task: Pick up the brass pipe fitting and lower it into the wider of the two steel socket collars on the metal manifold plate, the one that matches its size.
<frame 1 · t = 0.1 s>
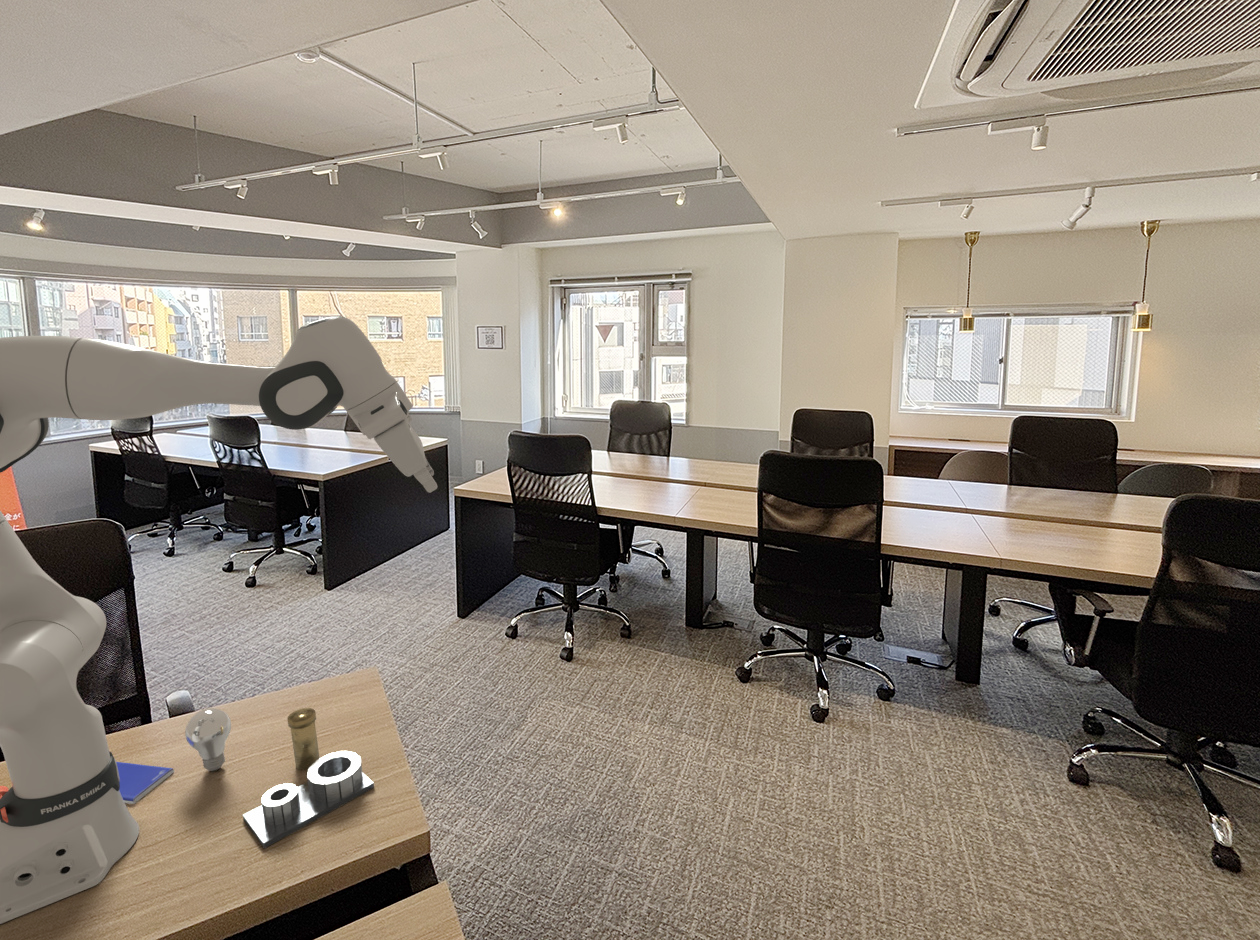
hand: (431, 482, 106), 54 cm above the table, tool tilted 30°, fingers open, 8 cm apart
brass fitting: (307, 763, 120), on the table
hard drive: (125, 787, 115), on the table
manifold plate: (311, 803, 110), on the table
light bulb: (215, 770, 118), on the table
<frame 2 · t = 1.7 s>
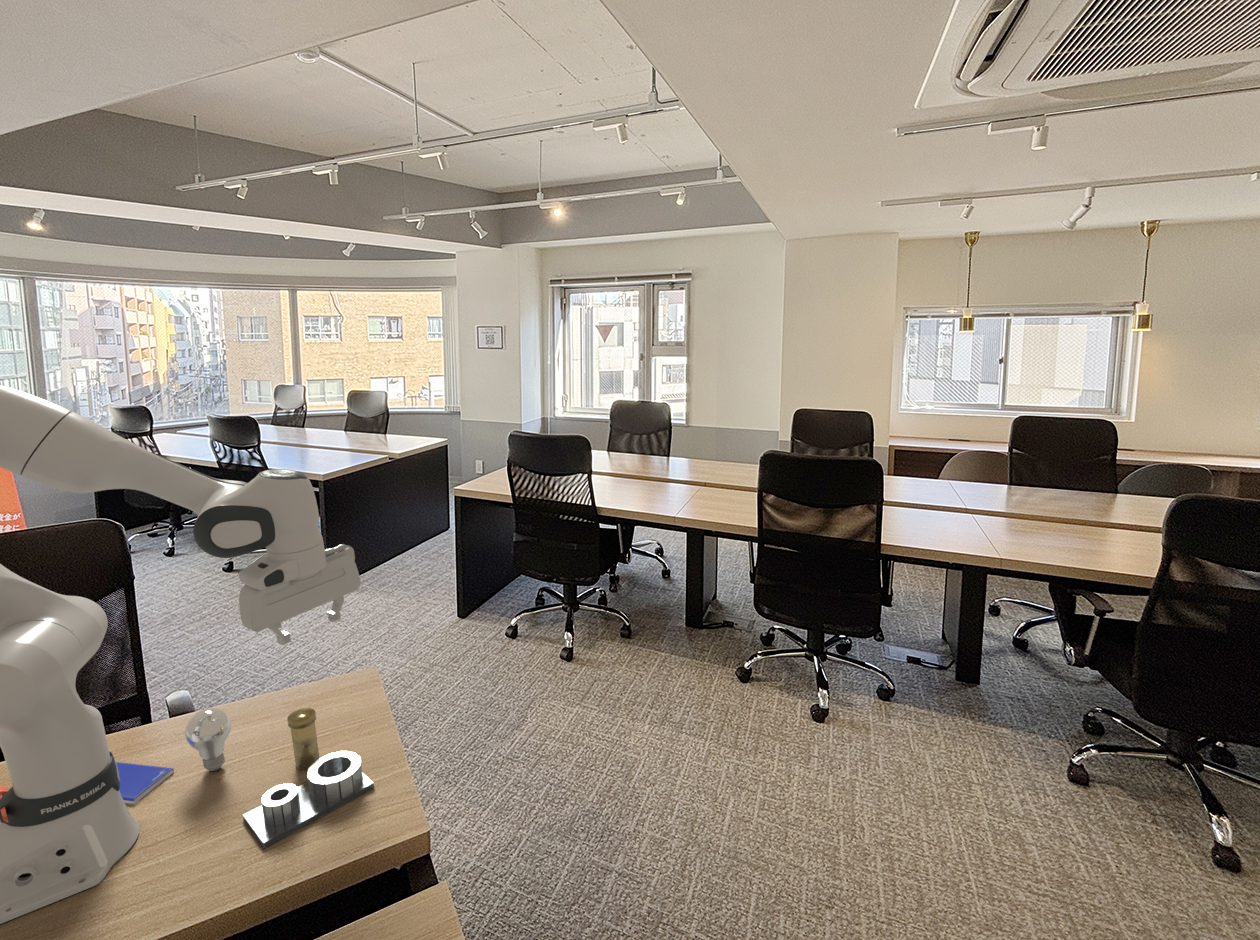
hand: (310, 631, 116), 26 cm above the table, tool pointing down, fingers open, 8 cm apart
nothing on the table moved.
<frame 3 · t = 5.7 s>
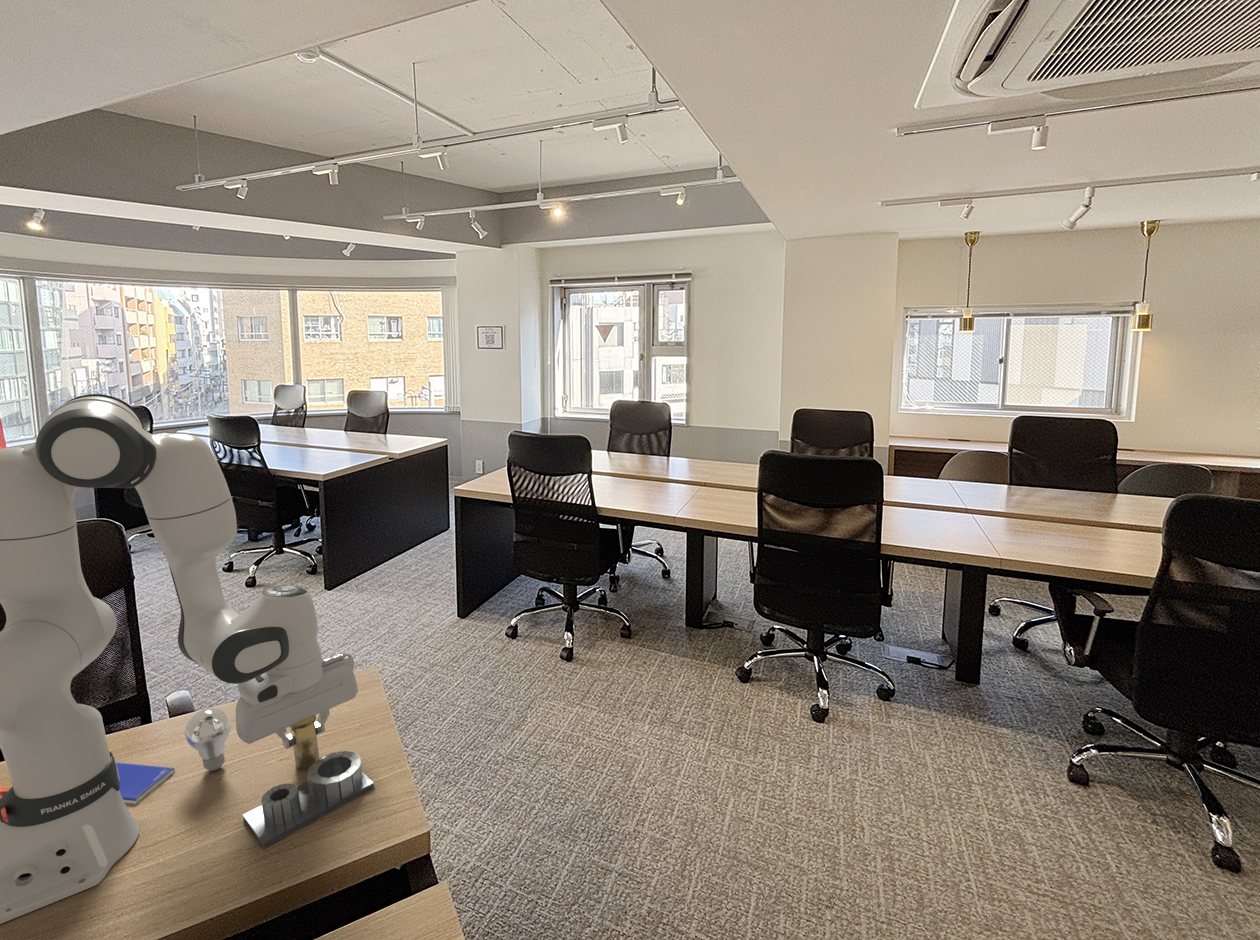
hand: (304, 738, 119), 5 cm above the table, tool pointing down, fingers closed on brass fitting, 4 cm apart
brass fitting: (307, 762, 120), on the table, touching gripper
everything else where it was.
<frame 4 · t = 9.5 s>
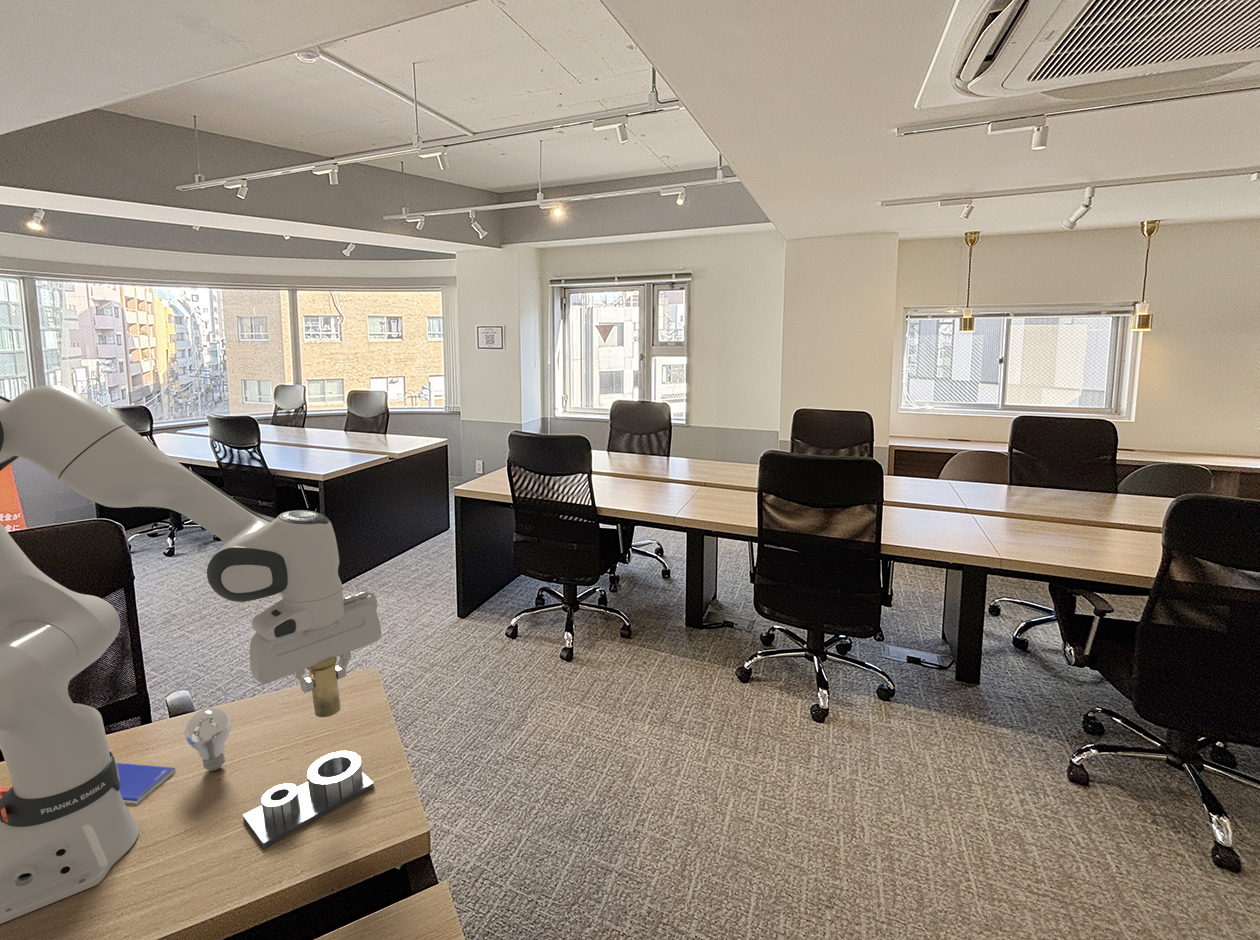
hand: (324, 683, 108), 21 cm above the table, tool pointing down, fingers closed on brass fitting, 4 cm apart
brass fitting: (327, 710, 110), point 16 cm above the table, touching gripper
everything else where it was.
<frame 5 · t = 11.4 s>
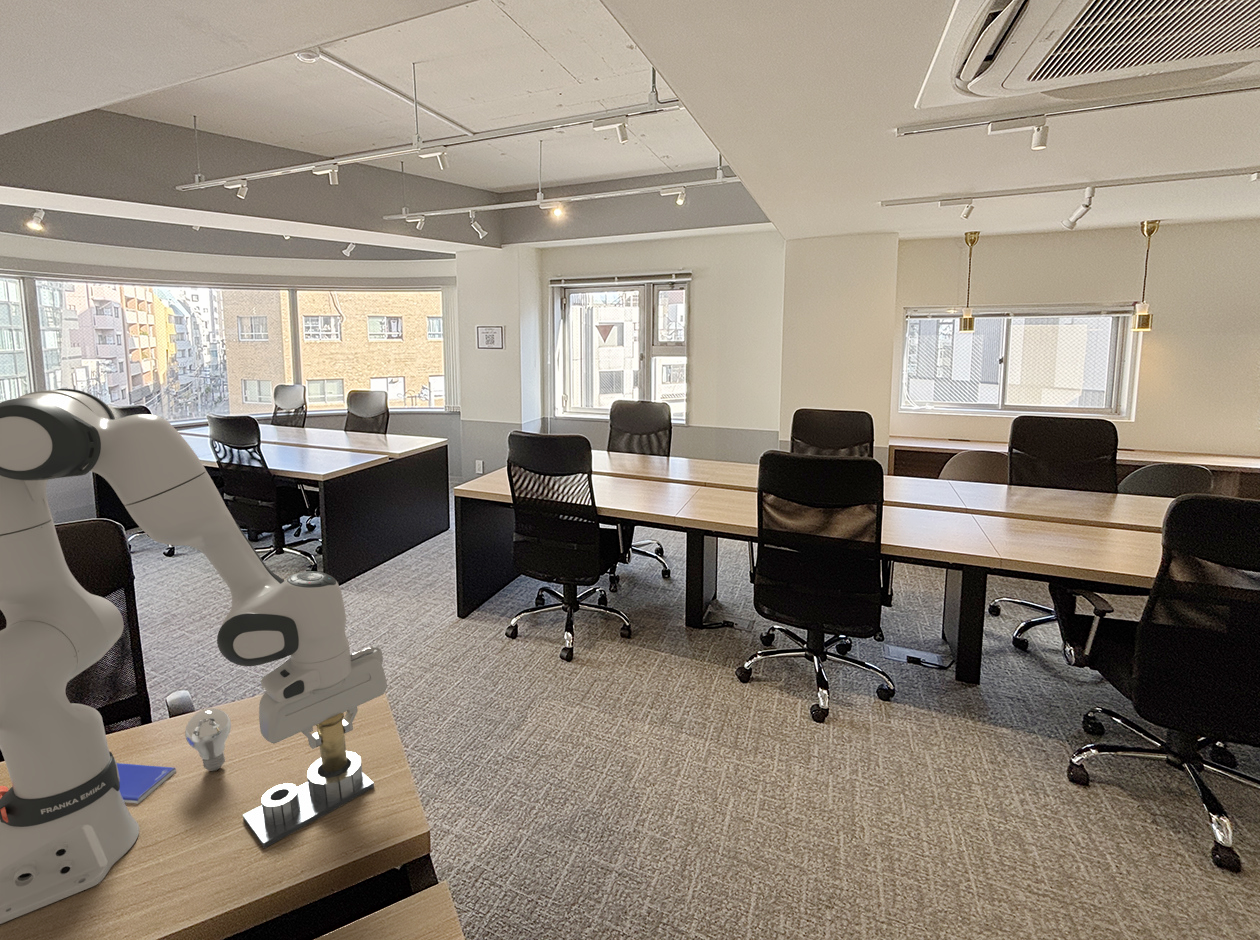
hand: (331, 738, 111), 10 cm above the table, tool pointing down, fingers closed on brass fitting, 4 cm apart
brass fitting: (335, 764, 112), point 5 cm above the table, touching gripper
everything else where it was.
when the fingers open (7 cm above the table, at t = 13.2 s): brass fitting stays where it is, resting on manifold plate.
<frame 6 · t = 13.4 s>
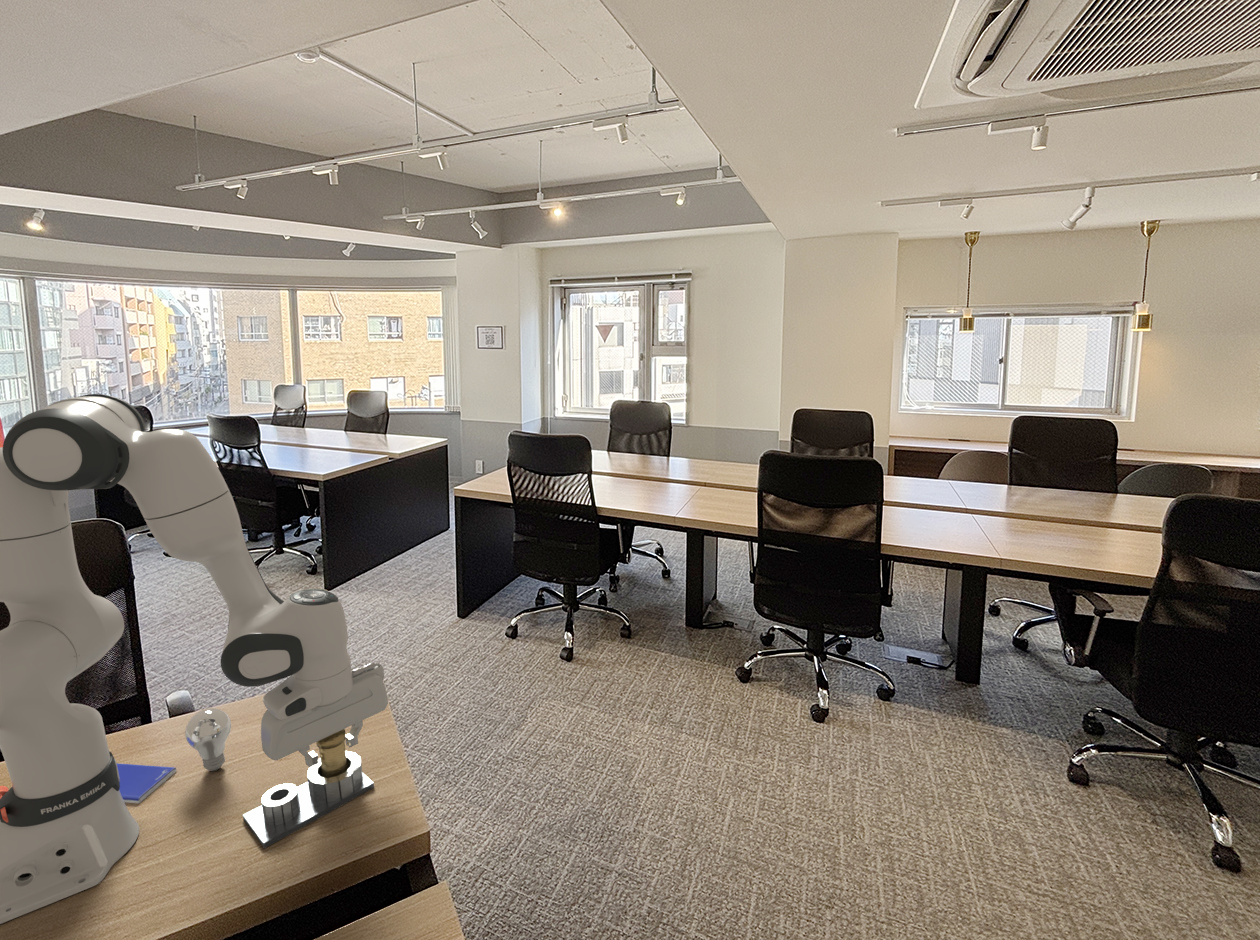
hand: (332, 754, 111), 7 cm above the table, tool pointing down, fingers open, 5 cm apart
brass fitting: (336, 784, 113), point 1 cm above the table, touching manifold plate
everything else where it was.
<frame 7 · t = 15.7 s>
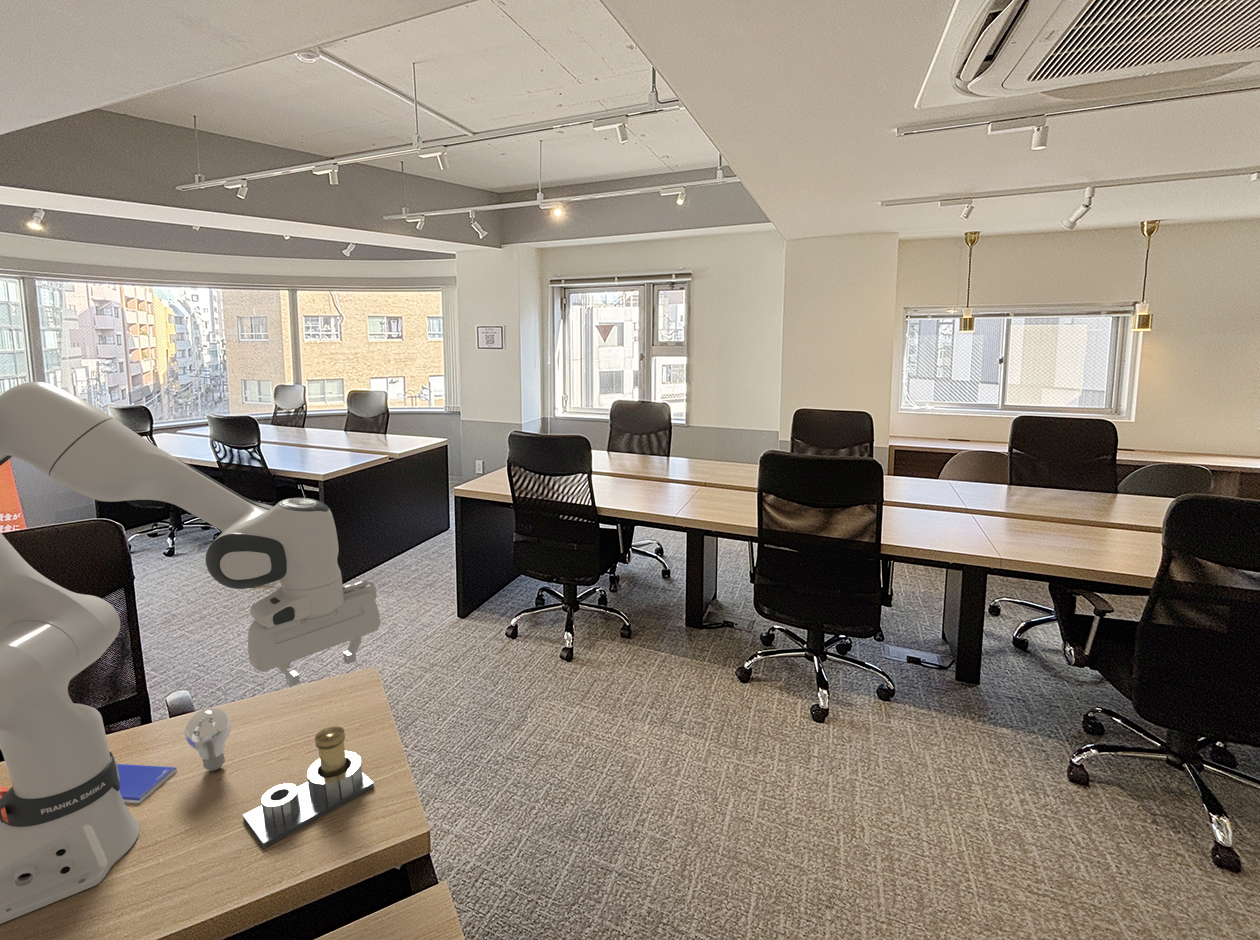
hand: (322, 672, 108), 23 cm above the table, tool pointing down, fingers open, 8 cm apart
nothing on the table moved.
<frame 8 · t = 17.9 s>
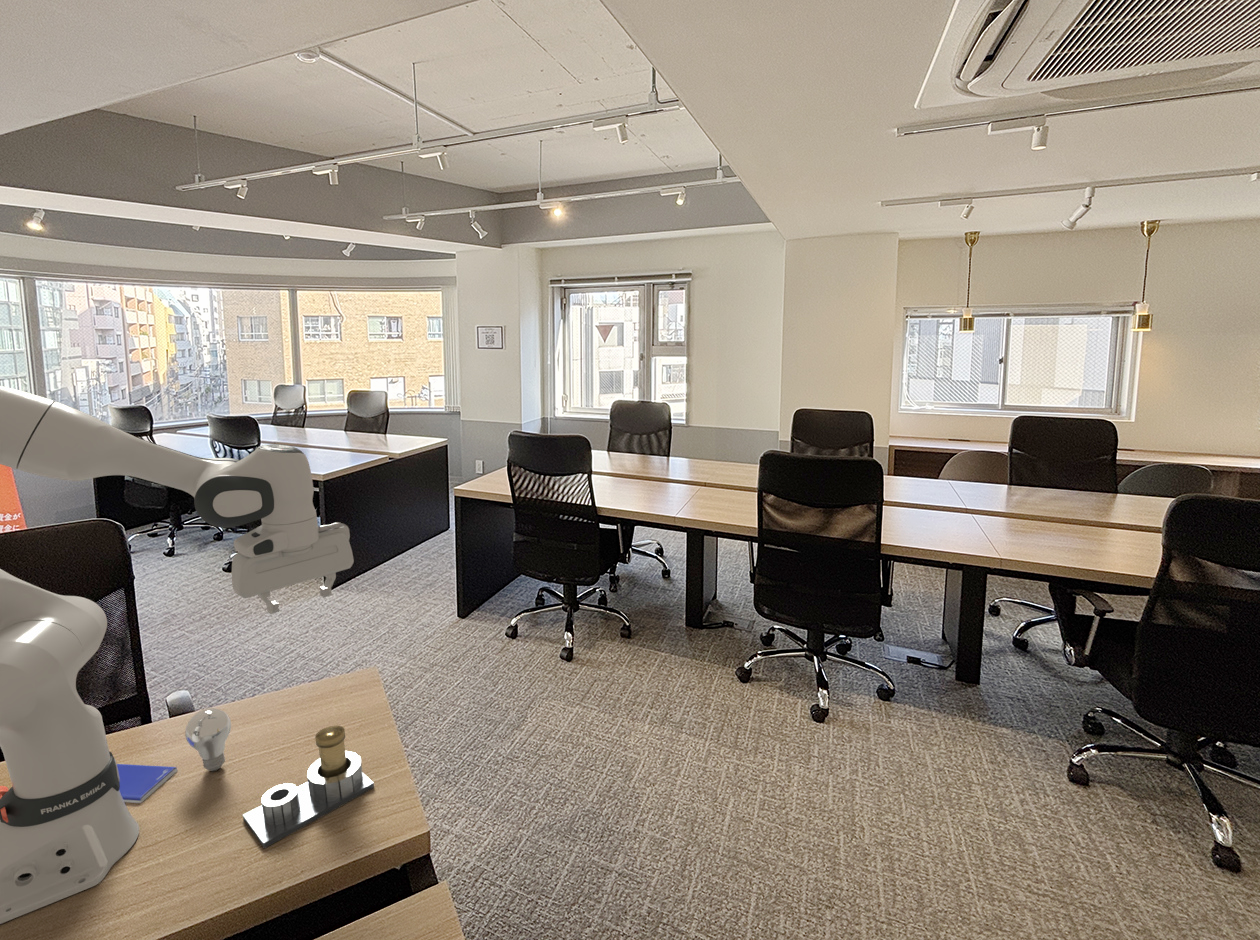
hand: (300, 603, 119), 29 cm above the table, tool pointing down, fingers open, 8 cm apart
nothing on the table moved.
at the end: brass fitting 0.0 cm from the target spot on the manifold plate, point 1.0 cm above the manifold plate's base; brass fitting tilted 1°; the gripper is holding nothing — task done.
